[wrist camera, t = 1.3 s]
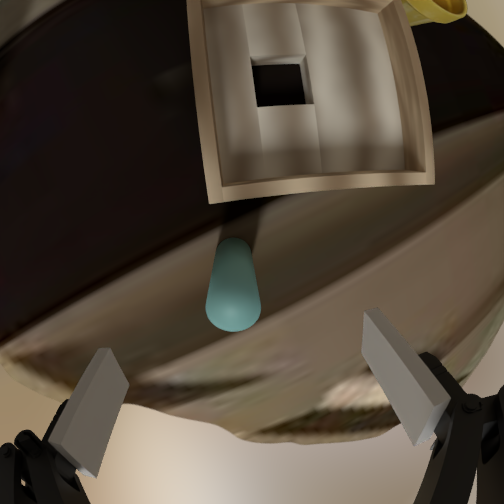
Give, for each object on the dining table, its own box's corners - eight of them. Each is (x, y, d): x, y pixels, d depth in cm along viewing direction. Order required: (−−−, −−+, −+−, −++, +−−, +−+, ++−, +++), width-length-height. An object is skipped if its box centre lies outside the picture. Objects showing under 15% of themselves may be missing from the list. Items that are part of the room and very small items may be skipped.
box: (215, 194, 29) (209, 203, 22) (194, 15, 22) (185, -16, 15) (399, 177, 29) (434, 184, 23) (373, 16, 22) (399, -5, 16)
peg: (218, 273, 32) (211, 334, 21) (212, 240, 31) (200, 287, 19) (253, 268, 32) (263, 327, 21) (249, 235, 31) (257, 280, 19)
